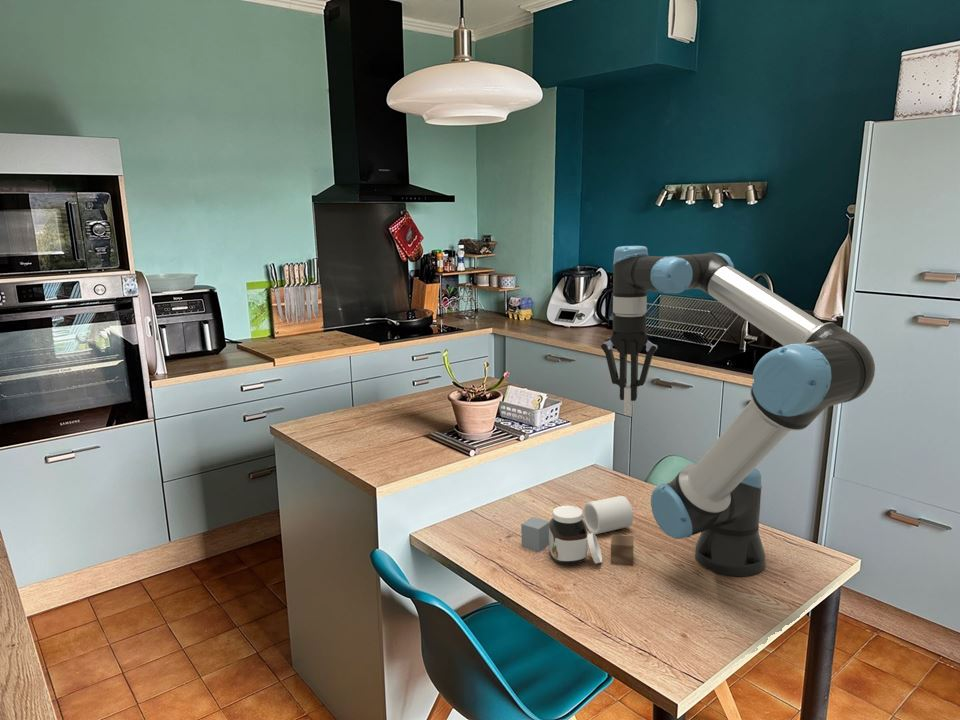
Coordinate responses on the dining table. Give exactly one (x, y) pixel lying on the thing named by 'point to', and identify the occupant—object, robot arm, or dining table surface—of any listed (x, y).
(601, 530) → the mug
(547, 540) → the slate block
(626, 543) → the walnut block
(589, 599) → the dining table surface
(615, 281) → the robot arm
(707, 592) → the dining table surface
